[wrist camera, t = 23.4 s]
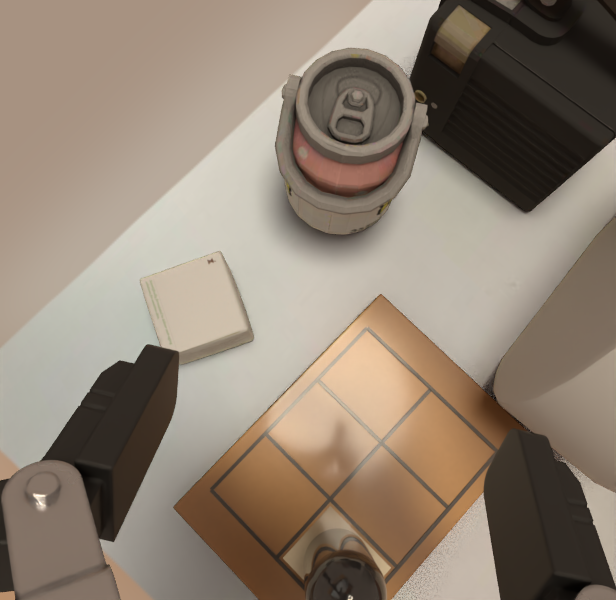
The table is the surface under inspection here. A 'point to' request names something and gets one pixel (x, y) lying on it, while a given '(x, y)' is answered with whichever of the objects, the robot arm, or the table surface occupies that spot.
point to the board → (352, 459)
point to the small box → (197, 308)
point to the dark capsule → (341, 568)
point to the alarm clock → (571, 365)
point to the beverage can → (347, 139)
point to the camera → (520, 88)
